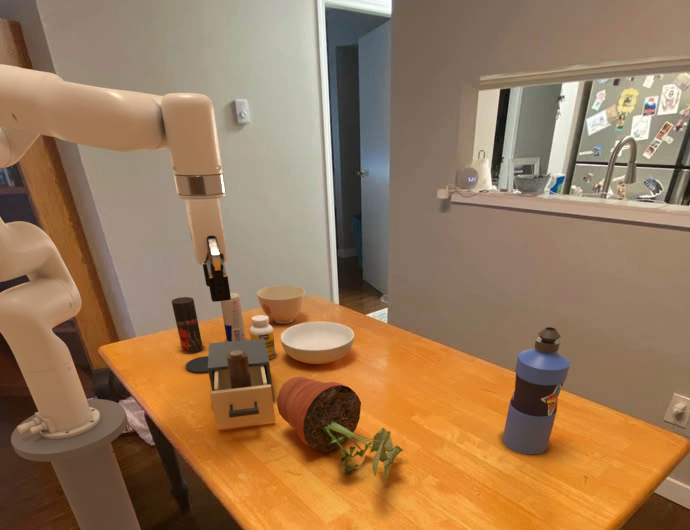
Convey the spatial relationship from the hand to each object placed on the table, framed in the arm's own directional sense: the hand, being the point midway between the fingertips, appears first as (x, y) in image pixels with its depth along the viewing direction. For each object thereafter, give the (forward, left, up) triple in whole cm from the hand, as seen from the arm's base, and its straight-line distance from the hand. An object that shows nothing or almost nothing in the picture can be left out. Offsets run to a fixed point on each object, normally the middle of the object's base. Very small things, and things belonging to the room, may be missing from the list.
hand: (218, 292), depth 83 cm
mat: (+18, +34, -31) cm, 49 cm away
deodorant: (+23, +46, -31) cm, 60 cm away
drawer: (+5, +4, -30) cm, 31 cm away
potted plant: (+7, -24, -31) cm, 40 cm away
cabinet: (+14, +14, -31) cm, 37 cm away
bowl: (+57, +41, -31) cm, 77 cm away
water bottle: (+33, -51, -31) cm, 68 cm away
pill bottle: (+32, +25, -31) cm, 51 cm away
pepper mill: (+6, +5, -29) cm, 30 cm away
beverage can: (+34, +39, -31) cm, 60 cm away
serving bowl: (+41, +12, -31) cm, 53 cm away
